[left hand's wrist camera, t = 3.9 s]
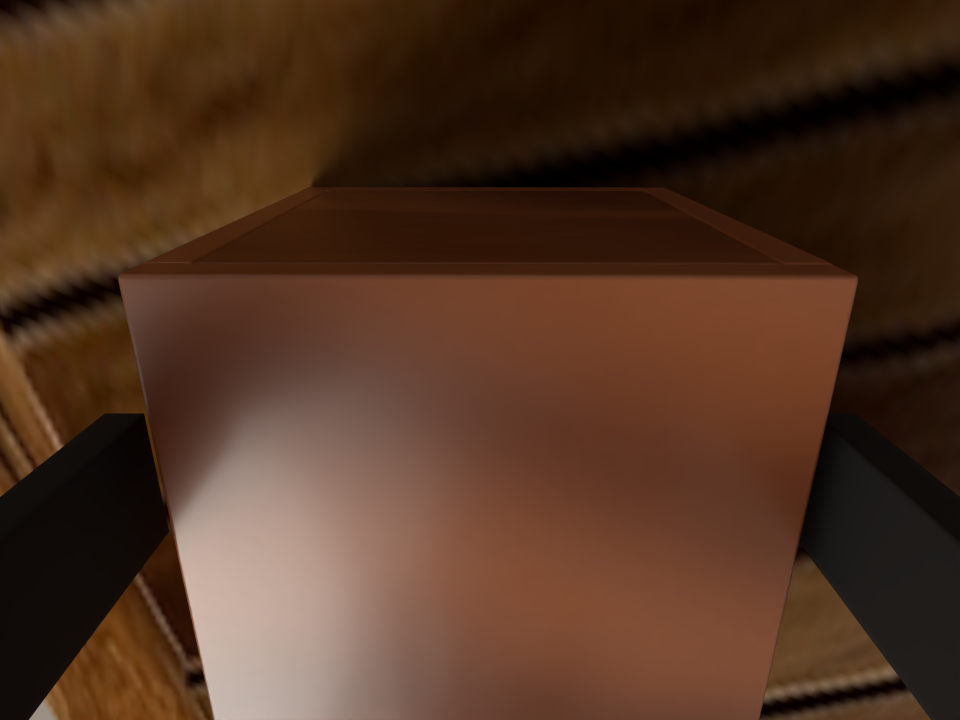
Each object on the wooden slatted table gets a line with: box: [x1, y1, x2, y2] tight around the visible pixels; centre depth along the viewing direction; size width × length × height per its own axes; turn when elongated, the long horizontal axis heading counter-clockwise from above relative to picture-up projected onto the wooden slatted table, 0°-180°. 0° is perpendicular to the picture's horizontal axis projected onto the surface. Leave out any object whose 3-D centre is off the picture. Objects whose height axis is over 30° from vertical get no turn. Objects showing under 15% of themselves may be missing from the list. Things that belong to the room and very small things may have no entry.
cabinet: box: [118, 187, 858, 720], centre depth 18 cm, size 19×11×11 cm, turn 0°
